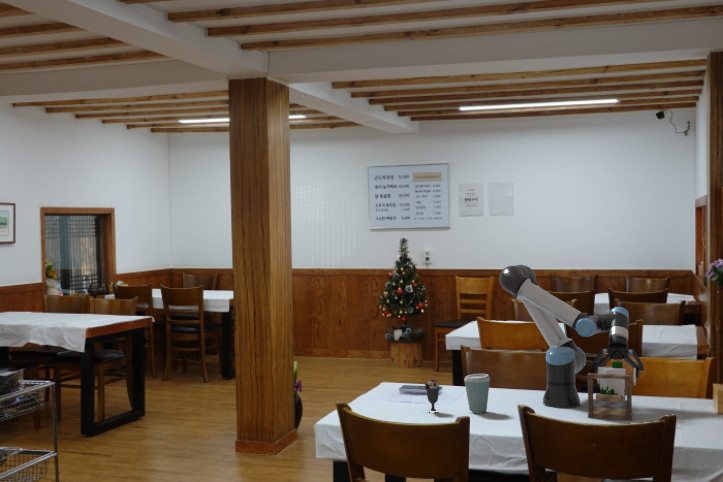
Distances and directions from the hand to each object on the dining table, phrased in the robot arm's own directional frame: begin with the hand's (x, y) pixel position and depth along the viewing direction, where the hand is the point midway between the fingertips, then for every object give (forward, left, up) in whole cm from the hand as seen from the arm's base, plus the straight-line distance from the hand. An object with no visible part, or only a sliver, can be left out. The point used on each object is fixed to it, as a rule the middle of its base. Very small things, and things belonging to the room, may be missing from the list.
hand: (616, 383), depth 303 cm
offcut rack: (-1, -9, -12) cm, 15 cm away
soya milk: (-1, 0, -12) cm, 12 cm away
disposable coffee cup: (-52, -15, -12) cm, 56 cm away
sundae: (-69, -21, -12) cm, 74 cm away
